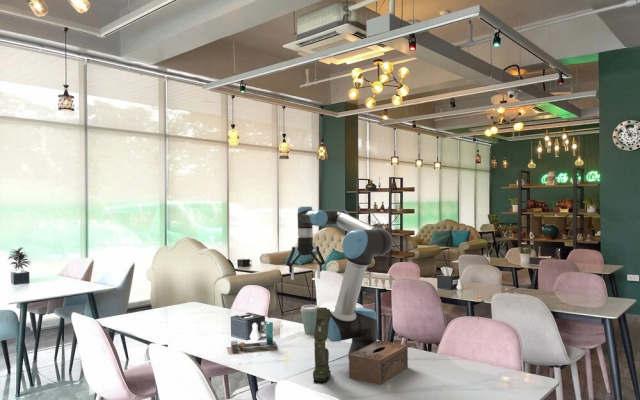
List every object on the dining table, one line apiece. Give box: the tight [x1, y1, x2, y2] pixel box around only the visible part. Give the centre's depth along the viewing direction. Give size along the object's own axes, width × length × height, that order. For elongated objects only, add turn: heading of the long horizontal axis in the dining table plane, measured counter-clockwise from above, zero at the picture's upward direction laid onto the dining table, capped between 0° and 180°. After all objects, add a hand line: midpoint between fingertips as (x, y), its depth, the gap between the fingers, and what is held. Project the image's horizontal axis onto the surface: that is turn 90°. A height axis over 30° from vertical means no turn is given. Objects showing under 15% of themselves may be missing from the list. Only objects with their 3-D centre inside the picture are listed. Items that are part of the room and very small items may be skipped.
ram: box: [259, 321, 277, 346], centre depth 244 cm, size 8×4×11 cm, turn 105°
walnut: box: [238, 341, 246, 350], centre depth 240 cm, size 4×4×4 cm
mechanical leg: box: [312, 306, 332, 385], centre depth 203 cm, size 14×7×30 cm, turn 168°
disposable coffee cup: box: [300, 304, 319, 335], centre depth 276 cm, size 11×11×15 cm
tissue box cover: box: [348, 339, 409, 386], centre depth 208 cm, size 26×14×10 cm, turn 145°
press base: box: [226, 340, 279, 356], centre depth 241 cm, size 24×13×5 cm, turn 105°
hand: (305, 278), depth 247 cm, fingers open, 13 cm apart
